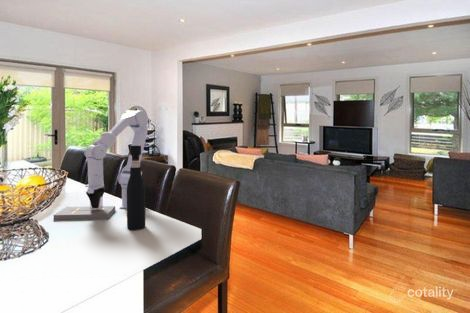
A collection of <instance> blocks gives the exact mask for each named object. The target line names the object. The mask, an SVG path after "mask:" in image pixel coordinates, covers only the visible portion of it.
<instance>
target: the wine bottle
mask: <svg viewBox="0 0 470 313" xmlns="http://www.w3.org/2000/svg"><path fill="white" fill-rule="evenodd" d="M129 154H130V155H132V161H139V155H141V146H132V145H129ZM141 171H142V167H141V161H140V162H131V167H130V177H129V180H128V184H127V208H126V225H127V226H126V229H127V230H129V231H139V230H144V229H145V228H146V186H145V181H144V179H143V174H142V175H141Z"/></svg>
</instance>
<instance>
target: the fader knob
mask: <svg viewBox="0 0 470 313" xmlns="http://www.w3.org/2000/svg"><path fill="white" fill-rule="evenodd" d="M103 196H104V195H103ZM103 196H100V199H99V206H98V208H92V206H91V202H90V201H89V207H90V210H101V209H102V208H103V206H104V204H103Z"/></svg>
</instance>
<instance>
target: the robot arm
mask: <svg viewBox="0 0 470 313" xmlns="http://www.w3.org/2000/svg"><path fill="white" fill-rule="evenodd" d="M149 119H150V118H149V116H148V114H147V112H146V111H145V110H142V109H141V110H126V111H125V112H124V113H123V114H122V115H121V118H120V119H119V120H118V121H117V122H116V123H115V124H114V126H112V128H111V129H110V130H109V131H105V132H101V133H100V136H99V137H98V138H97V139H96V140H94V141H93V142H92V144H90V145H88V146H87V147H86V148H85V149H84V150H85V151H83V154H84V157H85V158H86V162H87V183H88V184H85V185H84V187H85V188H87V191H85V194H86V196H87V198H88V199H89V203H90V202H91V206H92V208H98V206H99V199H100V196H104V194H105V192H106V187H105V184H104V183H105V182H104V158H106V155H107V152H108V150H109V149H110V148H111V147H112V146H113V145H114V144H115V143H116V142H117V141H116V138H117V137H118V136H119V135H120V134H122V132H123V131H124V130H125V129H127V127H129V128H130V129H132V130H133V132H134V135H133V139H132V142H131V146H141V155H139V161H132V155H130V153H129V155H128V159H127V162H126V165H125V166H124V167H122V168H121V172H120V173H119V175H118V178H117V180H118V183H119V185H120V187H121V205H120V206H119V209H127V184H128V180H129V177H130V167H131V162H140V163H141V161H142V158H143V157H142V156H143V152H144V148H145V144H146V139H147V136H148V123H149ZM141 175H142V176H143V171H142V170H141Z"/></svg>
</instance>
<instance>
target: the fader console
mask: <svg viewBox="0 0 470 313" xmlns="http://www.w3.org/2000/svg"><path fill="white" fill-rule="evenodd" d="M115 212H116V206H115V205H114V206H113V205H110V206H109V205H107V206H105V205H103V208H102V209H101V210H90V206H66V207H64V208H62V209H61V210H59V211H58V212H56V213H55V214H53V221H70V220H71V221H72V220H73V221H76V220H77V221H79V220H82V221H84V220H108V219H109V218H110V217H111V216H112V215H113V214H114V213H115Z"/></svg>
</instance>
